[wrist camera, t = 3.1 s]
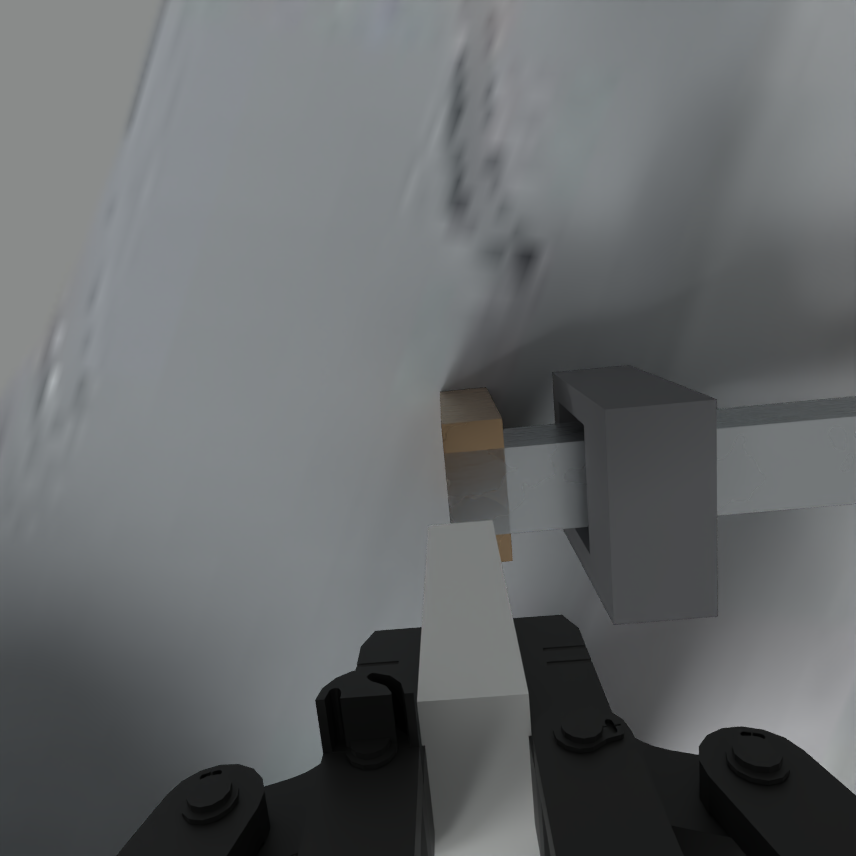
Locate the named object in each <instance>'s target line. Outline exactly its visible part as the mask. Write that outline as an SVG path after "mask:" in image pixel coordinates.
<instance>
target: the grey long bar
mask: <svg viewBox="0 0 856 856" xmlns="http://www.w3.org/2000/svg"><path fill="white" fill-rule="evenodd" d="M440 404H441V427H442V437H443V448H444V459H445V469H446V480H447V490H448V501H449V512H450V522H451V523H463V522H475V521H487V520H493V525H494V530H495V535H496V540H497V544H498V549H499V554H500V559H501V562H506V561H513V559H512V545H511V533H522V532H534V531H545V530H557V529H569V528H580V527H589V522H588V501H587V480H586V459H585V439H584V425H583V424H582V423H581V422H569V423H558V424H547V425H537V426H526V427H515V428H504V429H503V424H502V417H501V415H500V414H499V412H498V410H497V408H496V406H495V404H494V402H493V400H492V398H491V396H490V394H489V392H488V390H487V388H486V387H485V388H474V389H464V390H453V391H442V392H440ZM847 504H856V396H854V397H843V398H832V399H821V400H810V401H799V402H788V403H777V404H766V405H755V406H744V407H733V408H723V409H717V516H719V515H731V514H743V513H754V512H766V511H777V510H789V509H801V508H812V507H824V506H835V505H847Z"/></svg>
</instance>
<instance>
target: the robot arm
mask: <svg viewBox="0 0 856 856" xmlns="http://www.w3.org/2000/svg"><path fill="white" fill-rule="evenodd" d="M315 701H316V708H317V715H318V721H319V728H320V735H321V741H322V748H323V757H322V761H321V763H320V764H319V765H318V766H316V767H314V768H313V769H311V770H309V771H308V772H306V773H303V774H301V775H298V776H296V777H293V778H291V779H288V780H284V781H281V782H278V783H275V784H272V785H269V786H265V787H264V785H263V779H262V777H261V776H260V775H259V774H258V773H257V772H256V771H255V770H254V769H253V768H249V767H246V766H243V765H240V764H229V765H218V766H215V767H212V768H208V769H205V770H202V771H199V772H198V773H196V774H194V775H192V776H191V777H189V778H187V779H185V780H183V781H182V782H181V783H180V784H179V785H177V786H176V787H175V788H174V789H173V790H172V791H171V792H170V793H169V794H168V795H167V796H166V797H165V798H164V799H163V800H162V802H161V803H160V804H159V805H158V806H157V808H156V809H155V810H154V811H153V812H152V814H151V815H150V816H149V817H148V818H147V820H146V821H145V822H144V823H143V824H142V826H141V827H140V828H139V829H138V830H137V832H136V833H135V834H134V835H133V836H132V838H131V839H130V840H129V841H128V842H127V844H126V845H125V846H124V847H123V848H122V850H121V851H120V852H119V853H118V854H117V856H856V795H855V794H854V793H852V792H851V791H850V790H849V789H848V788H847V787H845V786H844V785H843V784H842V783H841V782H840V781H839V780H837V779H836V778H835V777H834V776H833V775H832V774H830V773H829V772H828V771H827V770H826V769H825V768H824V767H822V766H821V765H820V764H819V763H818V762H817V761H815V760H814V759H813V758H812V757H811V756H810V755H809V754H807V753H806V752H805V751H804V750H803V749H801V748H799V747H798V746H796V745H795V744H793V743H792V742H790V741H789V740H787V739H786V738H784V737H781V736H779V735H776V734H773V733H771V732H768V731H765V730H762V729H755V728H748V727H731V728H722V729H719V730H717V731H715V732H713V733H711V734H708V735H707V736H706V737H705V739H704V740H703V741H702V743H701V744H700V746H699V755H696V754H690V753H684V752H678V751H671V750H667V749H663V748H659V747H654V746H652V745H649V744H647V743H645V742H642V741H640V740H638V739H636V738H635V737H634V736H633V733H632V731H631V730H630V728H629V727H628V726H627V724H626V723H625V722H624V720H623V719H621V718H620V717H618V716H617V715H615V714H613V713H612V711H611V709H610V706H609V704H608V701H607V699H606V696H605V694H604V691H603V689H602V686H601V684H600V681H599V678H598V676H597V673H596V671H595V668H594V666H593V663H592V662H591V658H590V656H589V653H588V651H587V648H586V647H585V643H584V640H583V638H582V635H581V633H580V630H579V628H578V627H577V626H575V625H574V624H573V623H572V622H570V621H569V620H568V619H567V618H565V617H564V616H563V615H551V616H538V617H525V618H513V616H512V612H511V607H510V602H509V597H508V592H507V588H506V583H505V578H504V573H503V568H502V564H501V559H500V554H499V549H498V544H497V540H496V535H495V530H494V525H493V520H487V521H475V522H463V523H451V524H439V525H428V535H427V551H426V567H425V583H424V598H423V614H422V627H420V628H407V629H394V630H381V631H375V632H374V633H373V634H372V635H371V636H370V637H369V638H368V639H367V641H366V642H365V643H364V644H363V645H362V646H361V649H360V653H359V658H358V662H357V667H356V671H351V672H349V673H347V674H344V675H342V676H340V677H337V678H335V679H334V680H333V681H331V682H330V683H329V684H327V685H326V686H325V687H324V688H322V690H321V692H320V693H319V695H318V697H317V698H316V700H315Z"/></svg>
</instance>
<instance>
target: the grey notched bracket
mask: <svg viewBox="0 0 856 856" xmlns="http://www.w3.org/2000/svg"><path fill="white" fill-rule="evenodd" d="M552 376H553V394H554V411H555V424H558V423H569V422H581V423H582V424H583V425H584V439H585V459H586V480H587V501H588V522H589V527H580V528H569V529H563V530H564V532H565V534H566V536H567V538H568V540H569V541H570V543H571V545H572V547H573V549H574V551H575V553H576V555H577V556H578V558H579V560H580V562H581V564H582V566H583V568H584V570H585V571H586V573H587V575H588V577H589V579H590V581H591V583H592V585H593V587H594V588H595V590H596V592H597V594H598V596H599V598H600V600H601V602H602V603H603V605H604V607H605V609H606V611H607V613H608V615H609V617H610V619H611V620H612V622H613V624H614V625H618V624H630V623H642V622H655V621H667V620H679V619H691V618H704V617H716V616H718V581H717V399H714V398H711V397H709V396H706V395H704V394H701V393H699V392H696V391H693V390H691V389H688V388H686V387H683V386H681V385H678V384H675V383H673V382H670V381H668V380H665V379H663V378H660V377H657V376H655V375H652V374H650V373H647V372H645V371H642V370H639V369H637V368H634V367H632V366H629V365H627V366H616V367H605V368H595V369H584V370H573V371H563V372H552Z"/></svg>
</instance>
